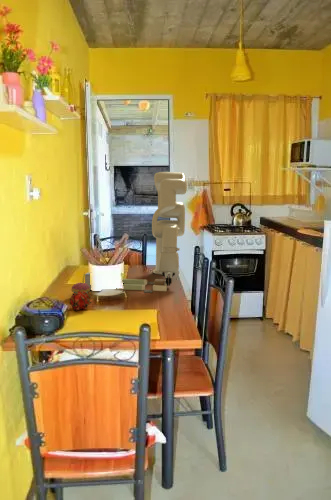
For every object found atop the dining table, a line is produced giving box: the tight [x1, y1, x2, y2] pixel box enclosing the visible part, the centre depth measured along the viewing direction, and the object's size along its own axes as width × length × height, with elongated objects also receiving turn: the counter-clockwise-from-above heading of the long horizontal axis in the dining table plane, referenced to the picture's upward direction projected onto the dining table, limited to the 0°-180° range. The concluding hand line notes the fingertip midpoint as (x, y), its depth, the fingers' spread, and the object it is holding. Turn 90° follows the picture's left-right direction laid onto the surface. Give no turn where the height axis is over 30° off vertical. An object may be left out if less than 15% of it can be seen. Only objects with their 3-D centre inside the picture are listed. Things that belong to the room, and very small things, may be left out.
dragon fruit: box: [69, 291, 92, 312], centre depth 178 cm, size 8×8×12 cm
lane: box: [122, 278, 168, 292], centre depth 217 cm, size 12×25×2 cm, turn 87°
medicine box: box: [84, 272, 91, 290], centre depth 208 cm, size 8×4×9 cm, turn 84°
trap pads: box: [143, 281, 154, 294], centre depth 218 cm, size 21×4×1 cm, turn 177°
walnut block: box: [153, 278, 166, 286], centre depth 217 cm, size 5×5×4 cm
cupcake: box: [71, 272, 91, 294], centre depth 194 cm, size 9×8×12 cm
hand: (168, 285), depth 217 cm, fingers closed
